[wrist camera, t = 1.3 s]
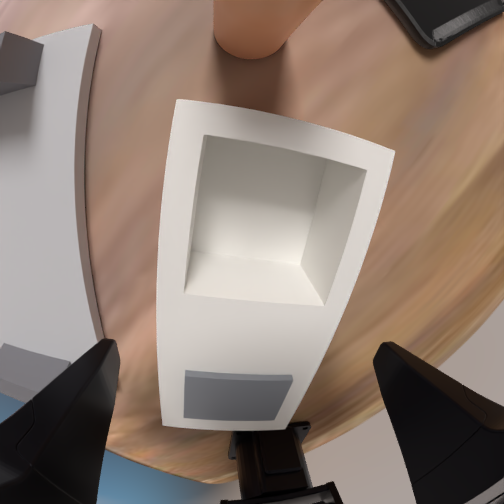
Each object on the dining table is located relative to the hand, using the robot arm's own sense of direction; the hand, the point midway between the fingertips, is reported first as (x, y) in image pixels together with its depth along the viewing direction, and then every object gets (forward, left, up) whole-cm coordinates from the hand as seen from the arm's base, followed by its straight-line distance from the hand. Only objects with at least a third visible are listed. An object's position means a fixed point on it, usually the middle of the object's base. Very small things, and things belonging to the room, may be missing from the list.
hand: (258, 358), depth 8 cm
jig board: (+1, +13, -5) cm, 14 cm away
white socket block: (0, 0, -6) cm, 6 cm away
